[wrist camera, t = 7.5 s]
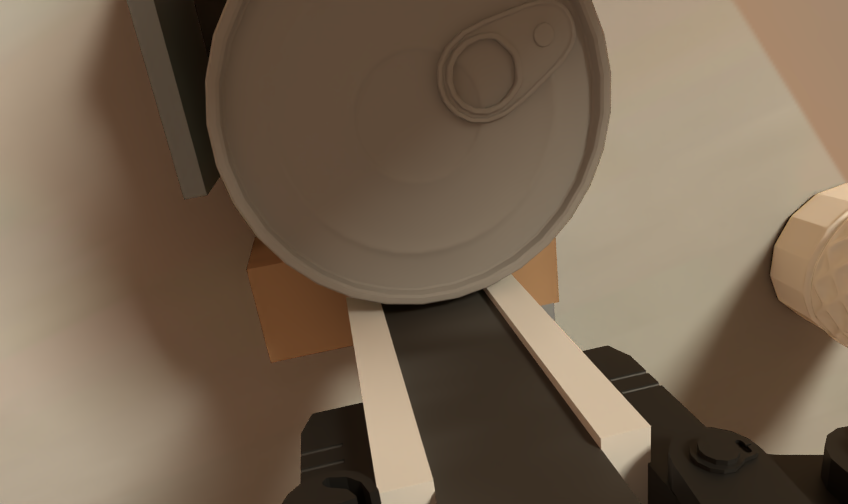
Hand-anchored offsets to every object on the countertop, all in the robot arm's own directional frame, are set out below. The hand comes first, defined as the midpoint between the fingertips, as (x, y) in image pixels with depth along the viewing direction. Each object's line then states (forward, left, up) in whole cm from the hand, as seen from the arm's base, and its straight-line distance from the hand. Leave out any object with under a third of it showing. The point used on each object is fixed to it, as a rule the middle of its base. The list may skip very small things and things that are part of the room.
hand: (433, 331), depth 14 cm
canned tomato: (0, +5, -10) cm, 11 cm away
